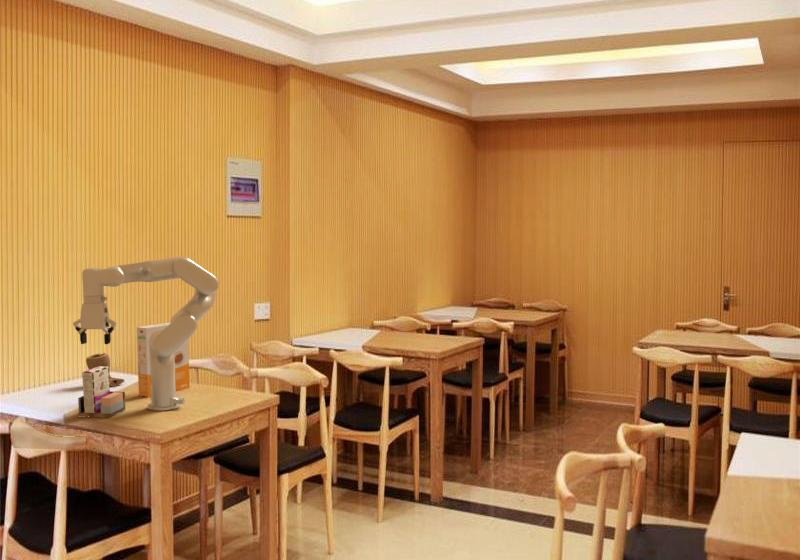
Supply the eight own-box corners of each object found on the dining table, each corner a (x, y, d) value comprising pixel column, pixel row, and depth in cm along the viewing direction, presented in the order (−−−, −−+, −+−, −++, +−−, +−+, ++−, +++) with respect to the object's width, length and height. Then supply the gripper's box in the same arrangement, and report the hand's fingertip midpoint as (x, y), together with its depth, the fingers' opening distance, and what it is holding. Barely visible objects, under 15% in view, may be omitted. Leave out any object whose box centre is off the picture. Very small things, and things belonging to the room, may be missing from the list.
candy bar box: (99, 406, 307) (98, 366, 305) (110, 407, 306) (109, 366, 305) (83, 413, 296) (81, 371, 294) (95, 413, 295) (93, 371, 294)
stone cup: (81, 386, 352) (79, 354, 351) (101, 382, 362) (100, 350, 361) (105, 389, 345) (104, 356, 344) (125, 384, 356) (124, 352, 355)
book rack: (125, 410, 307) (124, 391, 306) (110, 417, 294) (109, 398, 294) (94, 409, 308) (94, 391, 308) (78, 417, 296) (77, 398, 295)
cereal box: (180, 386, 351) (178, 321, 349) (189, 388, 347) (187, 322, 345) (138, 395, 332) (136, 327, 330) (148, 397, 329) (146, 328, 327)
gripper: (119, 299, 300) (121, 342, 301) (77, 299, 302) (79, 342, 304) (110, 301, 293) (111, 345, 294) (67, 301, 295) (69, 345, 296)
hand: (95, 343), depth 299 cm, fingers open, 9 cm apart
